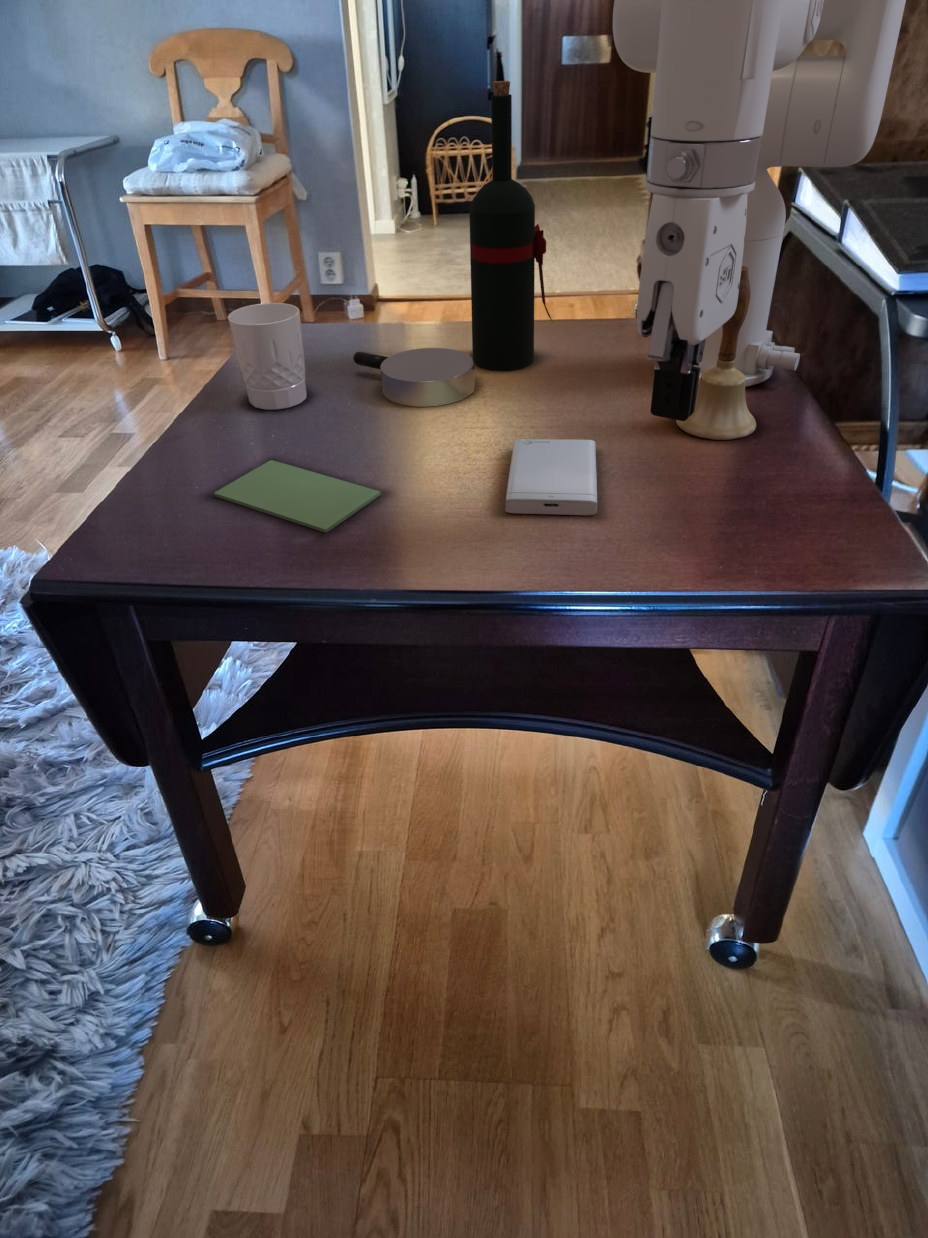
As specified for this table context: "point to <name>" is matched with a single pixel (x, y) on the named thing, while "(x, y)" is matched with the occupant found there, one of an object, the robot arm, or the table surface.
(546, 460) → the hard drive
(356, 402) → the table surface
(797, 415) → the table surface
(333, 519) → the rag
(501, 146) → the wine bottle
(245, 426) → the table surface
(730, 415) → the hand bell
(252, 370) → the white cup
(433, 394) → the pan
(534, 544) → the table surface
